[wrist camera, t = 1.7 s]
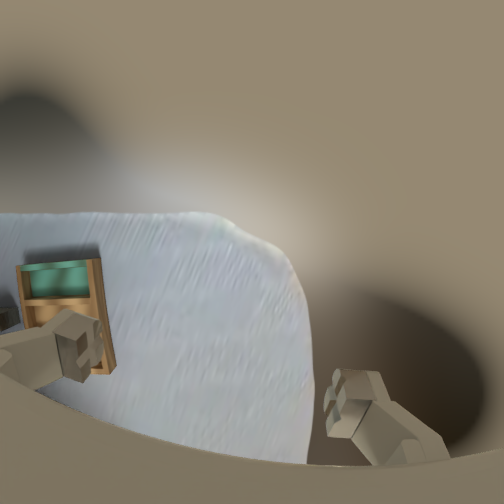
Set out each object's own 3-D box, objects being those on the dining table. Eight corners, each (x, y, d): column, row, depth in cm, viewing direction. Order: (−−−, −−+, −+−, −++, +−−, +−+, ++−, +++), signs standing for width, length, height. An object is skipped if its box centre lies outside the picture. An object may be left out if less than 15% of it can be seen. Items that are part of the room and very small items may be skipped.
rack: (100, 257, 49) (91, 259, 45) (116, 365, 50) (109, 374, 46) (27, 264, 48) (15, 265, 44) (44, 363, 48) (34, 370, 44)
